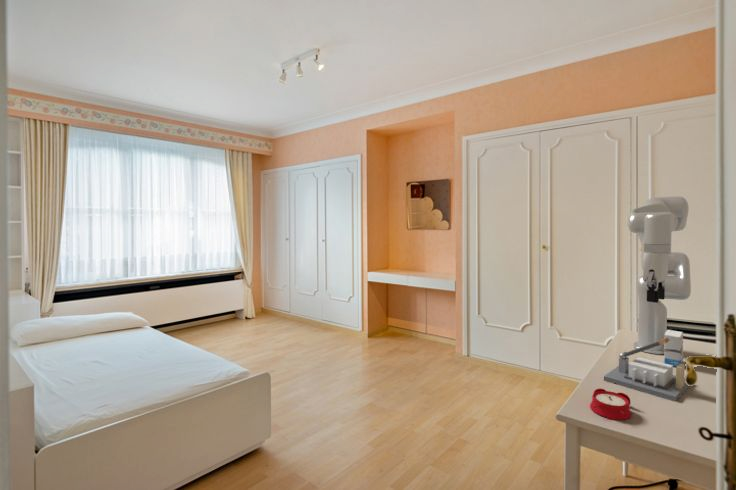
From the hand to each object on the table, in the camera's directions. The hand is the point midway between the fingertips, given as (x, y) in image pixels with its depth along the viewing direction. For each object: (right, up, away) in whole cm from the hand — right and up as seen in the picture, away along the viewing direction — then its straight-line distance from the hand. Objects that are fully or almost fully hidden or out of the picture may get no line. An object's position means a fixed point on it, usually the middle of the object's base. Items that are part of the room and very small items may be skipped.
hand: (655, 299), depth 132 cm
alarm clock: (-27, -31, -18) cm, 45 cm away
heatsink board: (-5, -28, -2) cm, 28 cm away
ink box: (+17, -26, +13) cm, 34 cm away
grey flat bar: (-5, -17, -2) cm, 18 cm away
